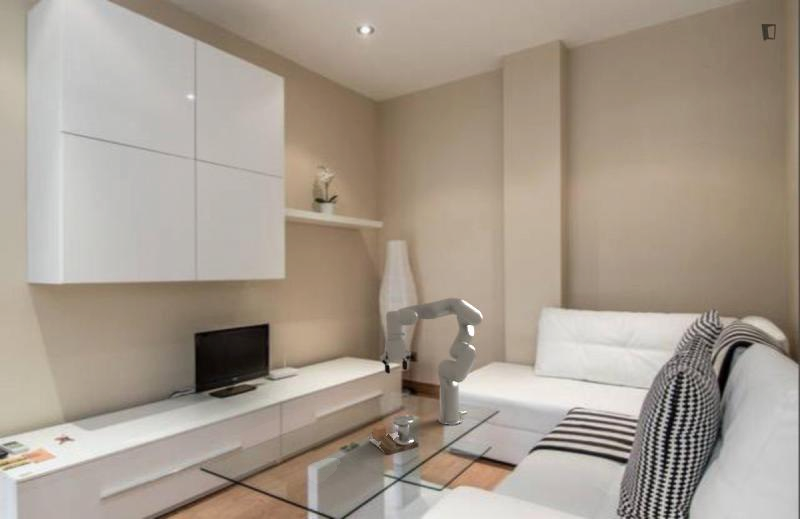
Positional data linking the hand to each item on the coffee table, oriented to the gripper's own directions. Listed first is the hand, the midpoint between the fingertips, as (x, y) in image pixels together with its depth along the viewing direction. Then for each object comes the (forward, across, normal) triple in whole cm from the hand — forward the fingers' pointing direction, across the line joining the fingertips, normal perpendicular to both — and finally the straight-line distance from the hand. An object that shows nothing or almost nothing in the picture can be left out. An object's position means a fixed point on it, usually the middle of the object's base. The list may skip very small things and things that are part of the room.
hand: (396, 371), depth 220 cm
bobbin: (+28, +6, +15) cm, 33 cm away
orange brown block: (+28, +14, +7) cm, 32 cm away
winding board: (+30, +9, +11) cm, 33 cm away
